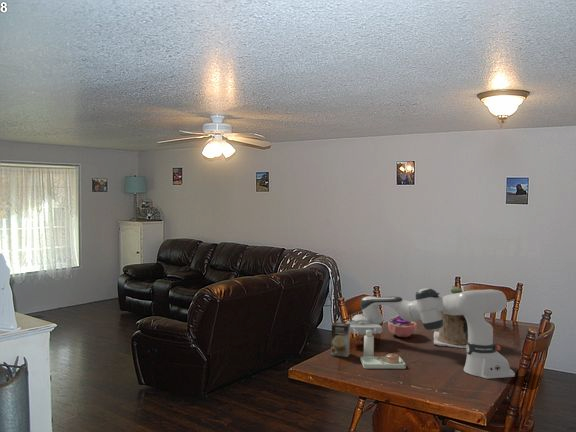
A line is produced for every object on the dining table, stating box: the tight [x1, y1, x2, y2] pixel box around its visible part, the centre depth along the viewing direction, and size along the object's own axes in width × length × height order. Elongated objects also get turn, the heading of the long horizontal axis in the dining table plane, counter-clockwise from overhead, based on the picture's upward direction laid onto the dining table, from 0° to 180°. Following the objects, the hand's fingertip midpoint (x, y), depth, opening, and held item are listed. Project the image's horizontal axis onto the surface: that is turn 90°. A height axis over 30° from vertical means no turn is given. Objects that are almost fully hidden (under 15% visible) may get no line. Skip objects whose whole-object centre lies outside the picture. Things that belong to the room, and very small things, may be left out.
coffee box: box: [330, 321, 351, 358], centre depth 266 cm, size 9×6×16 cm
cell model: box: [387, 315, 418, 338], centre depth 302 cm, size 17×20×11 cm
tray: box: [359, 355, 407, 370], centre depth 251 cm, size 20×12×2 cm, turn 91°
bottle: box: [363, 330, 375, 357], centre depth 261 cm, size 5×5×14 cm
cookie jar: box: [433, 285, 468, 349], centre depth 290 cm, size 25×25×32 cm
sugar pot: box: [385, 353, 400, 364], centre depth 251 cm, size 6×6×6 cm
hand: (365, 332), depth 274 cm, fingers open, 8 cm apart
